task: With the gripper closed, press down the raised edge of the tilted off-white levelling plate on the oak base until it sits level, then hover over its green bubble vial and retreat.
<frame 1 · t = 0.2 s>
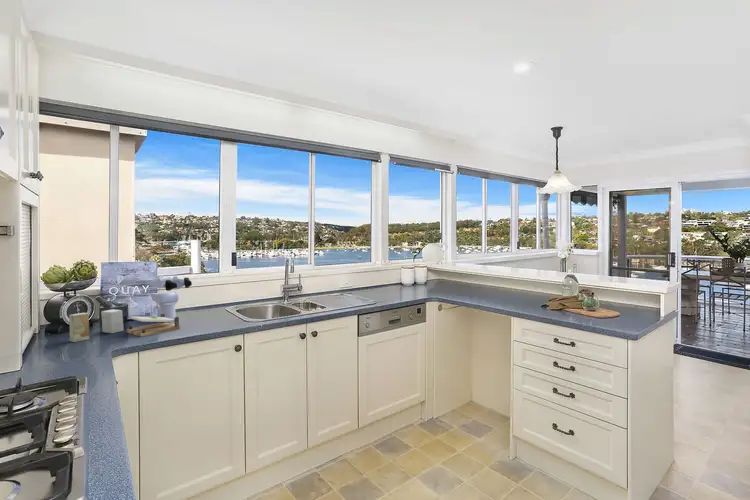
hand: (183, 284, 198), 22 cm above the countertop, tool horizontal, fingers open, 7 cm apart
levelling plate: (154, 318, 189), point 6 cm above the countertop, hinge at -12.0°
skincare box: (80, 340, 174), on the countertop
small box: (113, 331, 189), on the countertop
oak base: (153, 330, 189), on the countertop
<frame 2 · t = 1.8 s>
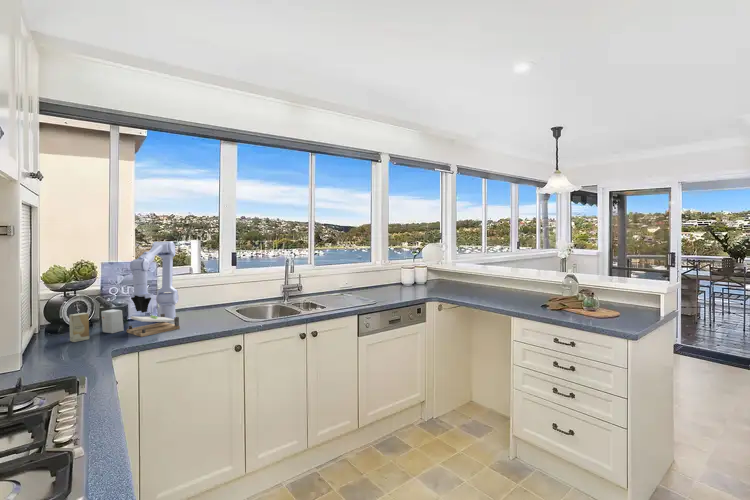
hand: (141, 311, 185), 10 cm above the countertop, tool pointing down, fingers open, 5 cm apart
nothing on the countertop moved.
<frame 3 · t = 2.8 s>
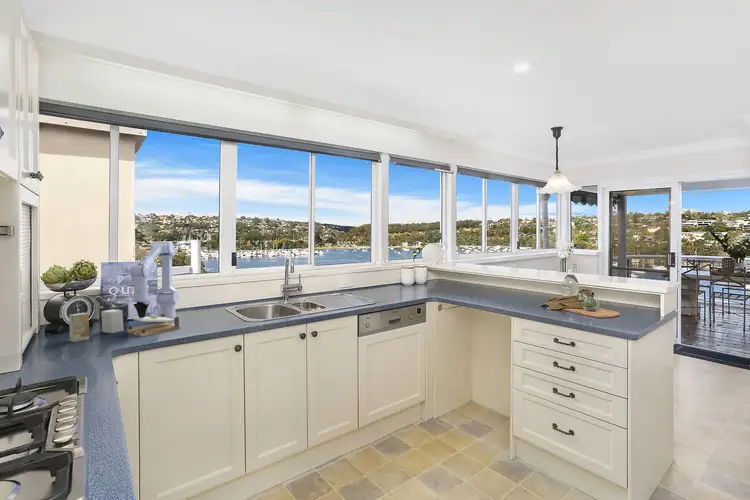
hand: (142, 317, 185), 7 cm above the countertop, tool pointing down, fingers closed, pressing on levelling plate
levelling plate: (154, 318, 189), point 6 cm above the countertop, hinge at -12.0°, touching gripper
everything else where it was.
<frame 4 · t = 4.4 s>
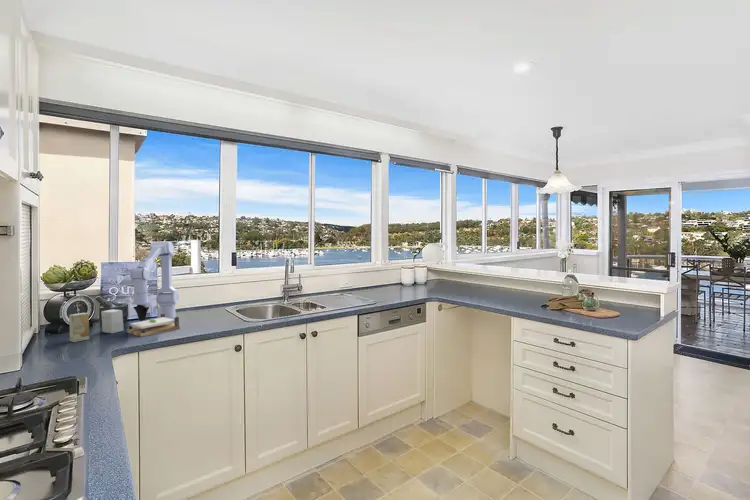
hand: (142, 320, 185), 6 cm above the countertop, tool pointing down, fingers closed
levelling plate: (153, 321, 189), point 4 cm above the countertop, hinge at 0.5°
everything else where it was.
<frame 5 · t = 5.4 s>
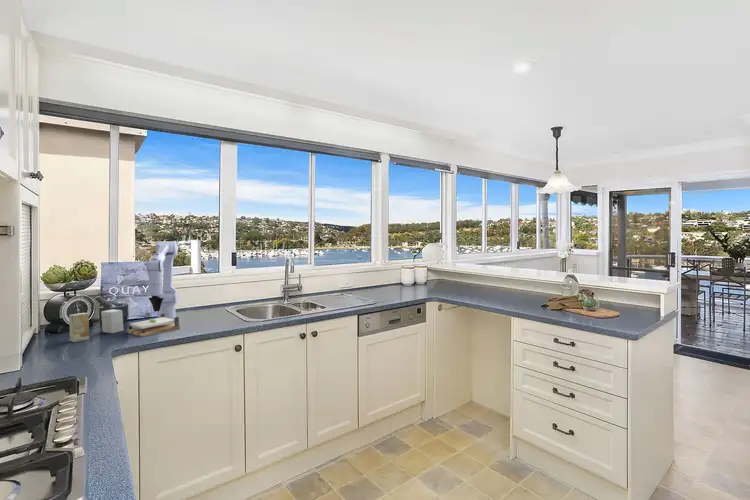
hand: (156, 311, 190), 9 cm above the countertop, tool pointing down, fingers closed
nothing on the countertop moved.
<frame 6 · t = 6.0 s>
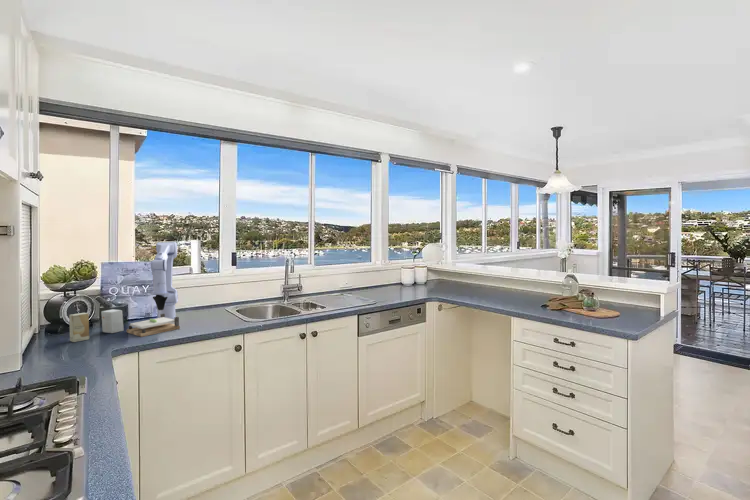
hand: (160, 309, 193), 10 cm above the countertop, tool pointing down, fingers closed
nothing on the countertop moved.
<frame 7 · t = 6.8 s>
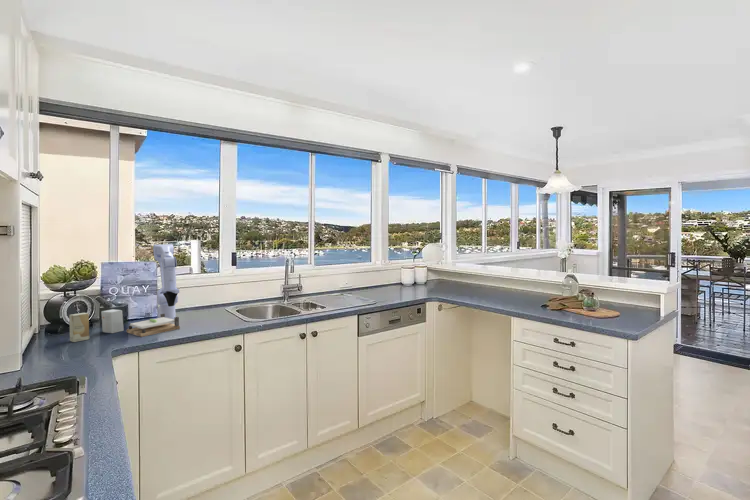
hand: (171, 306, 198), 10 cm above the countertop, tool pointing down, fingers closed
nothing on the countertop moved.
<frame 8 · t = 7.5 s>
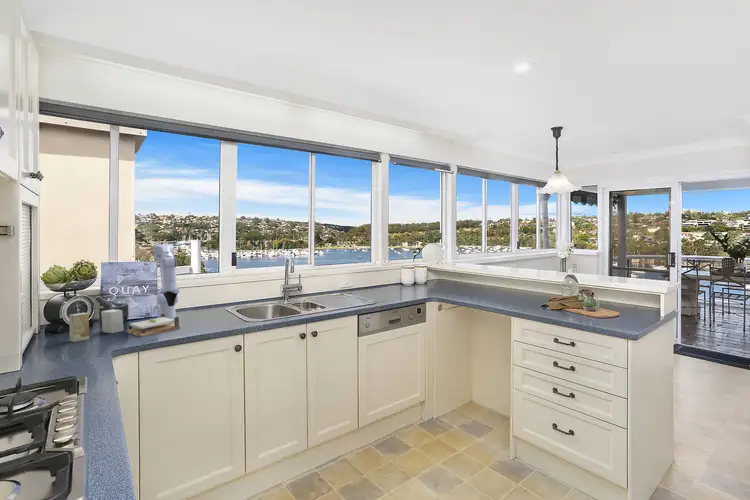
hand: (171, 306, 198), 10 cm above the countertop, tool pointing down, fingers closed
nothing on the countertop moved.
at the end: levelling plate at +0° (first picture: -12°); small box moved 0.3 cm from its start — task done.
